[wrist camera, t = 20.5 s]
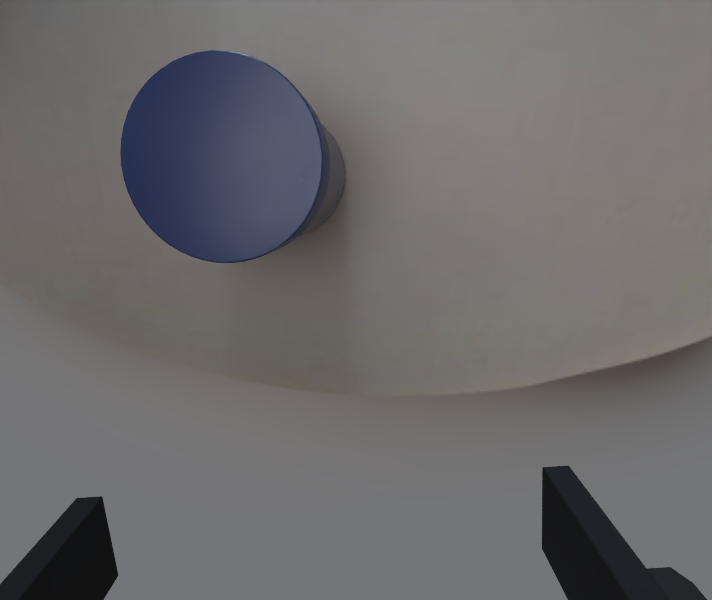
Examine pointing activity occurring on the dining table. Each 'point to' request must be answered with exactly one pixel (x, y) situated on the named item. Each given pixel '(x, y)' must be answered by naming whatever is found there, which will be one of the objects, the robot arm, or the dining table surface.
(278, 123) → the lid
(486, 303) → the dining table surface
